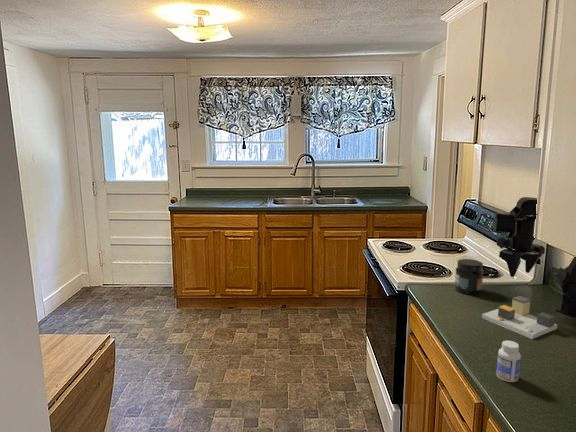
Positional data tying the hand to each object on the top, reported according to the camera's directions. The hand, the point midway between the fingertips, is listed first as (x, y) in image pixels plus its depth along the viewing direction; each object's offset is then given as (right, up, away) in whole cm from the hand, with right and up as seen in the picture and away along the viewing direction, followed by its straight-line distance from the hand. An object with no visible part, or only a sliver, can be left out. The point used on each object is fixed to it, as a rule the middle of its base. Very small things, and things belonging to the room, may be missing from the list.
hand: (519, 274), depth 159 cm
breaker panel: (-6, -15, -10) cm, 19 cm away
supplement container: (-11, -9, +20) cm, 25 cm away
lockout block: (-3, -13, -5) cm, 14 cm away
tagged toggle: (-10, -13, -9) cm, 19 cm away
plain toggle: (+1, -14, -14) cm, 20 cm away
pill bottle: (-26, -22, -42) cm, 54 cm away
